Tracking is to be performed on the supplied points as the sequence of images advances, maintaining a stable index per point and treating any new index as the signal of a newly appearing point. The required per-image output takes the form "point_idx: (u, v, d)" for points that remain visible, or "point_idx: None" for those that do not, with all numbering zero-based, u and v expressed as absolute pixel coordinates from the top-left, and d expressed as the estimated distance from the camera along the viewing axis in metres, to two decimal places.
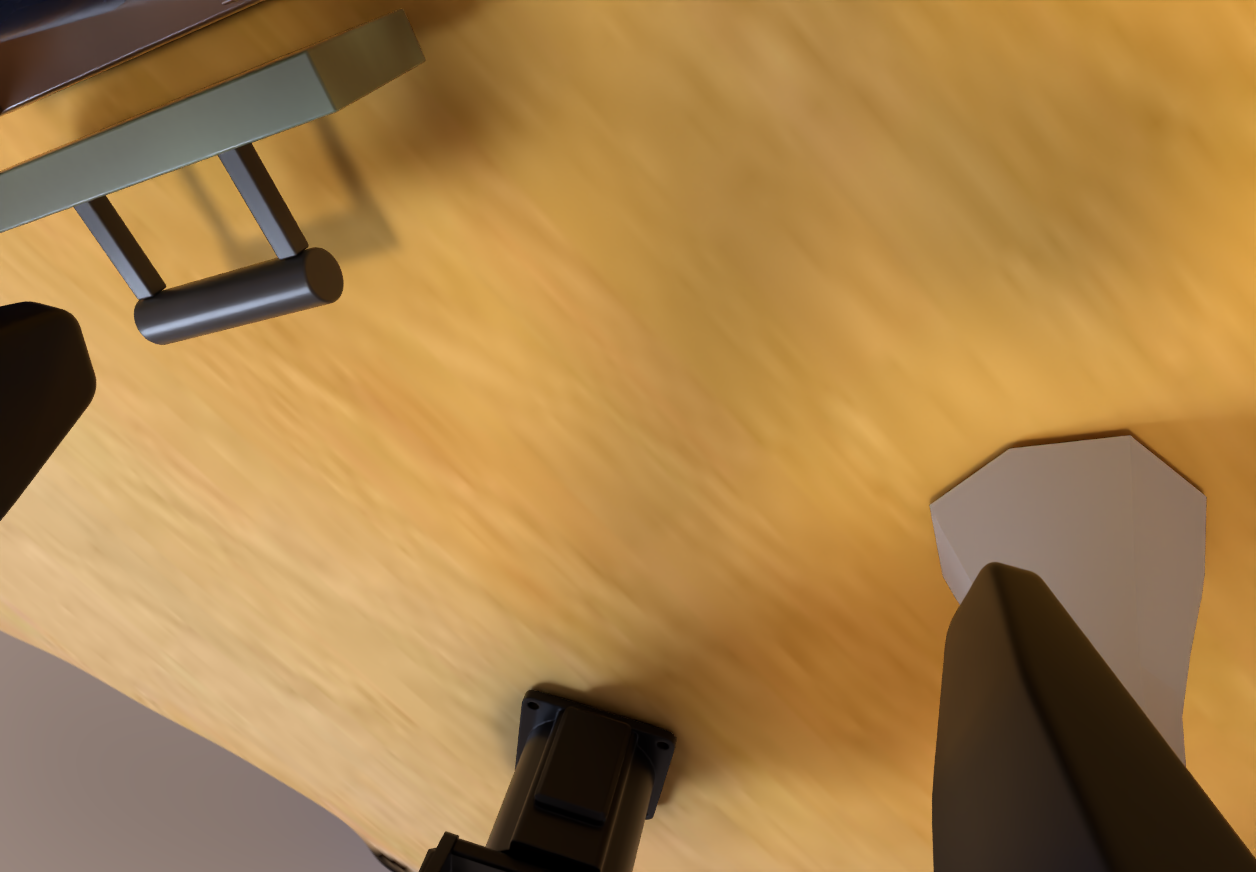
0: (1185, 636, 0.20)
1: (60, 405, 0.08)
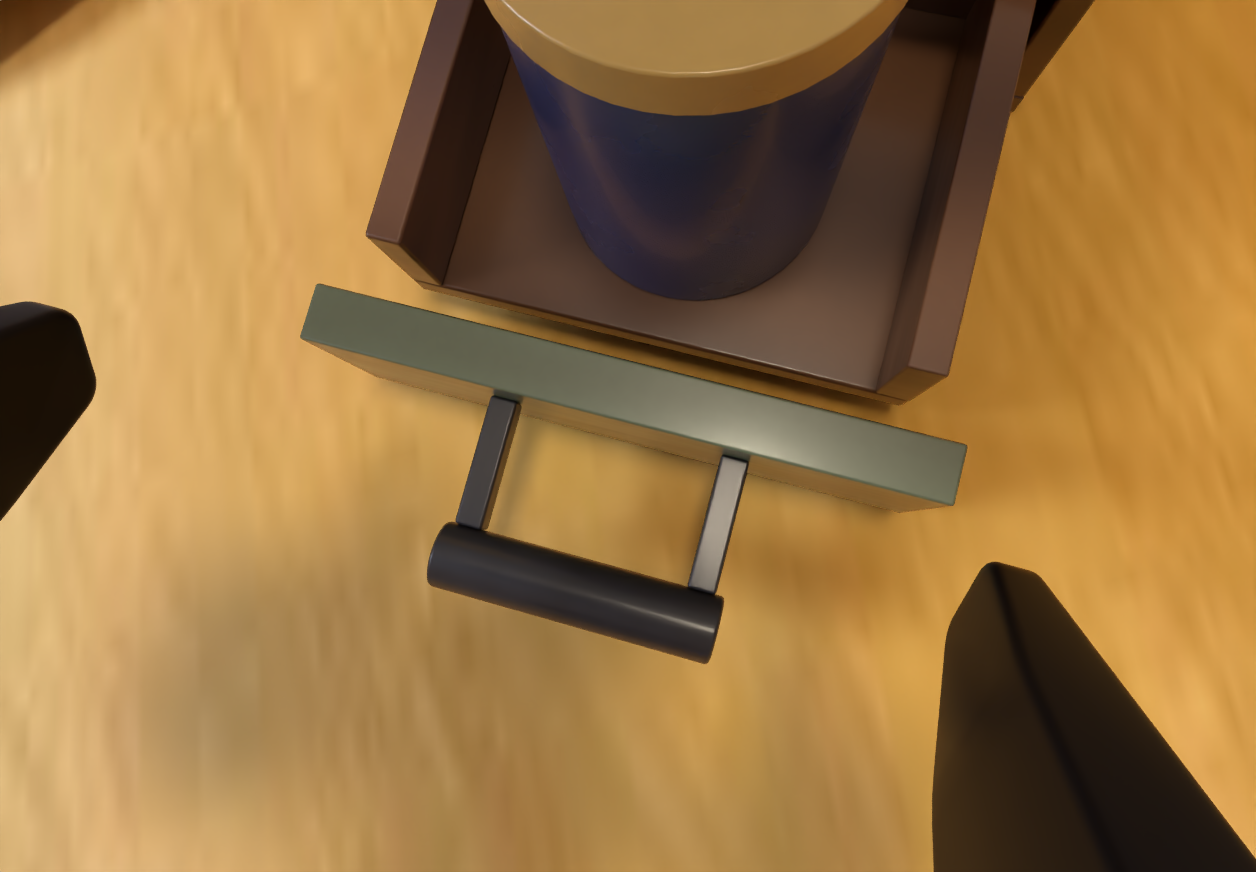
0: None
1: (60, 405, 0.08)
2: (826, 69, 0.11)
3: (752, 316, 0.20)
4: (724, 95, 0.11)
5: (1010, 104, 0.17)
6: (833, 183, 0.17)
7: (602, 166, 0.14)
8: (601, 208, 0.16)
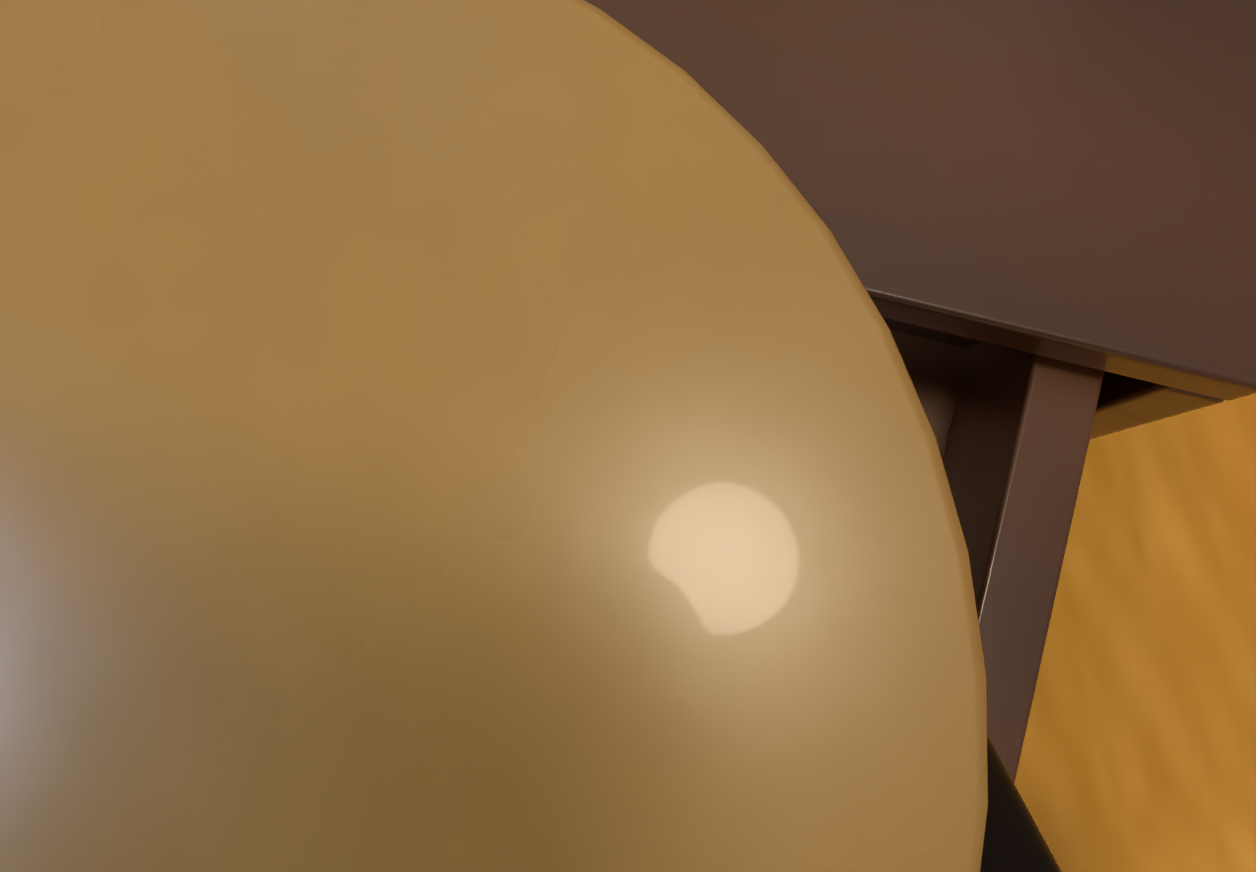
0: None
1: None
2: None
3: None
4: None
5: (1049, 609, 0.10)
6: None
7: None
8: None
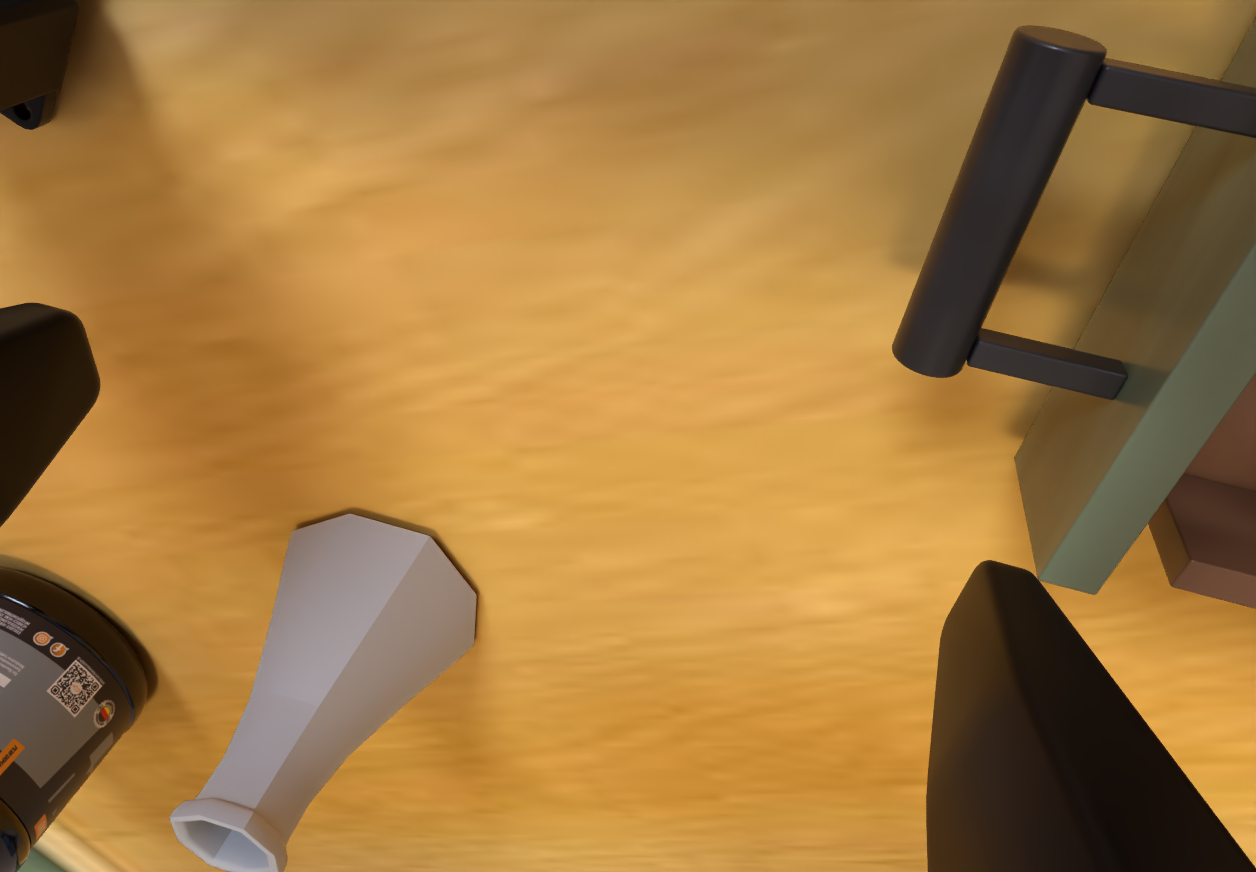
0: None
1: (64, 407, 0.08)
2: None
3: None
4: None
5: None
6: None
7: None
8: None
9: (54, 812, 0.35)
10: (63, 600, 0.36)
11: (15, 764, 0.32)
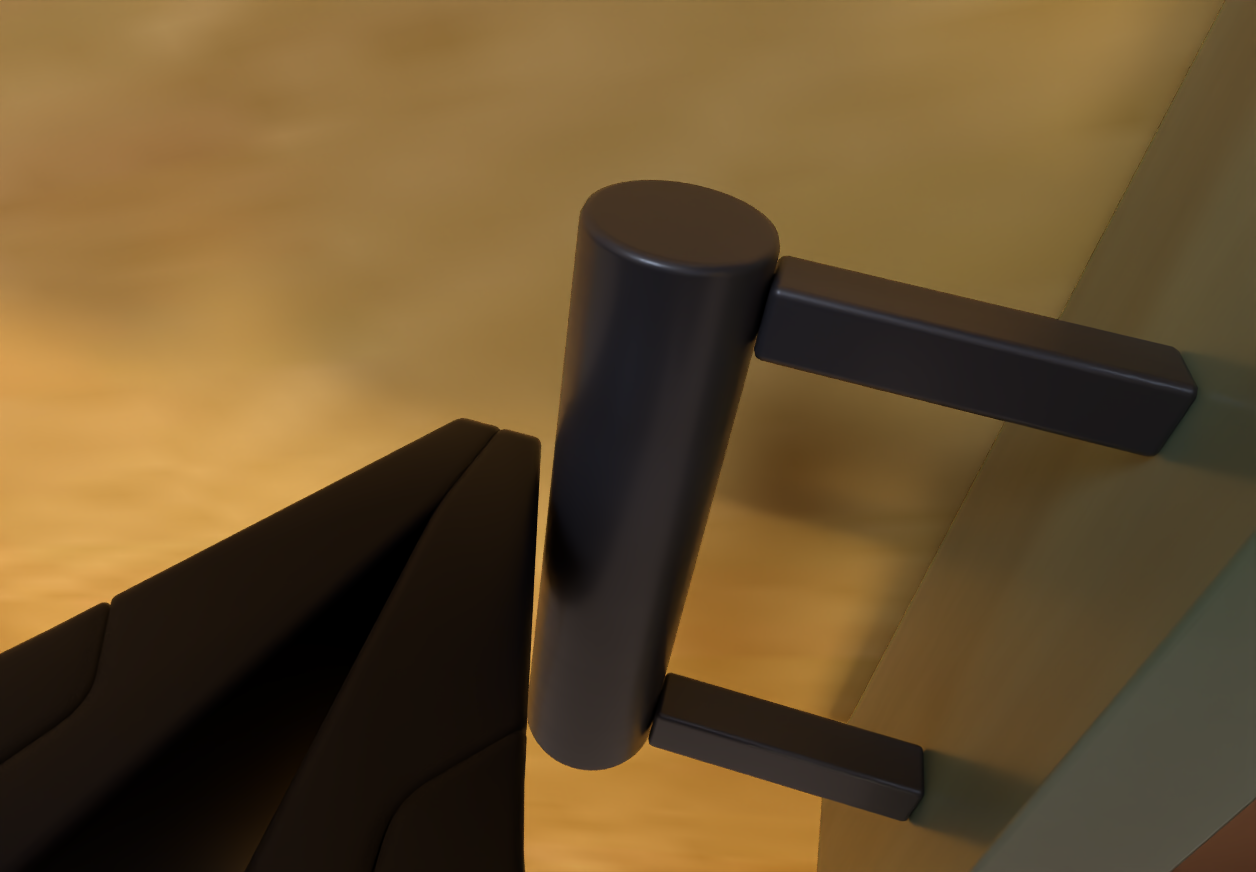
0: None
1: None
2: None
3: None
4: None
5: None
6: None
7: None
8: None
9: None
10: None
11: None
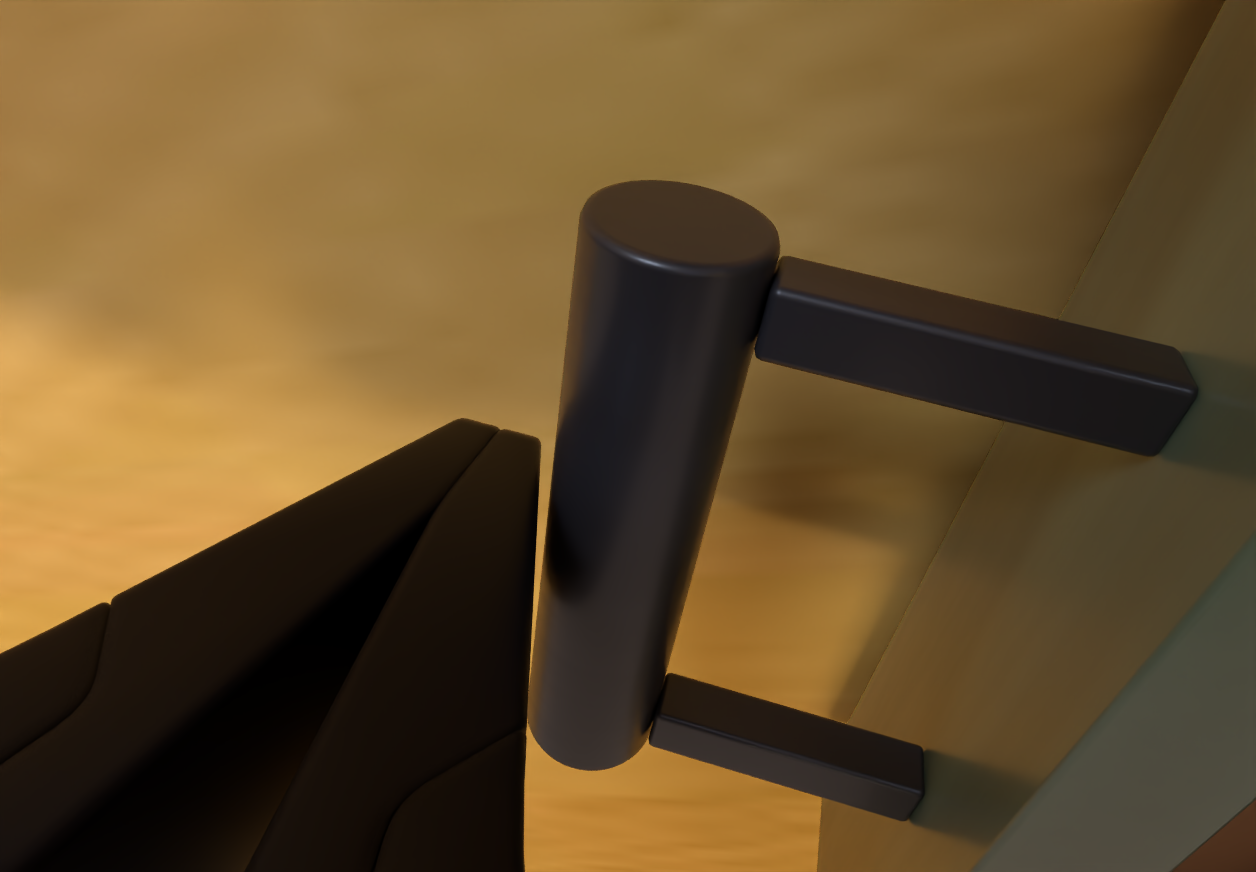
0: None
1: None
2: None
3: None
4: None
5: None
6: None
7: None
8: None
9: None
10: None
11: None
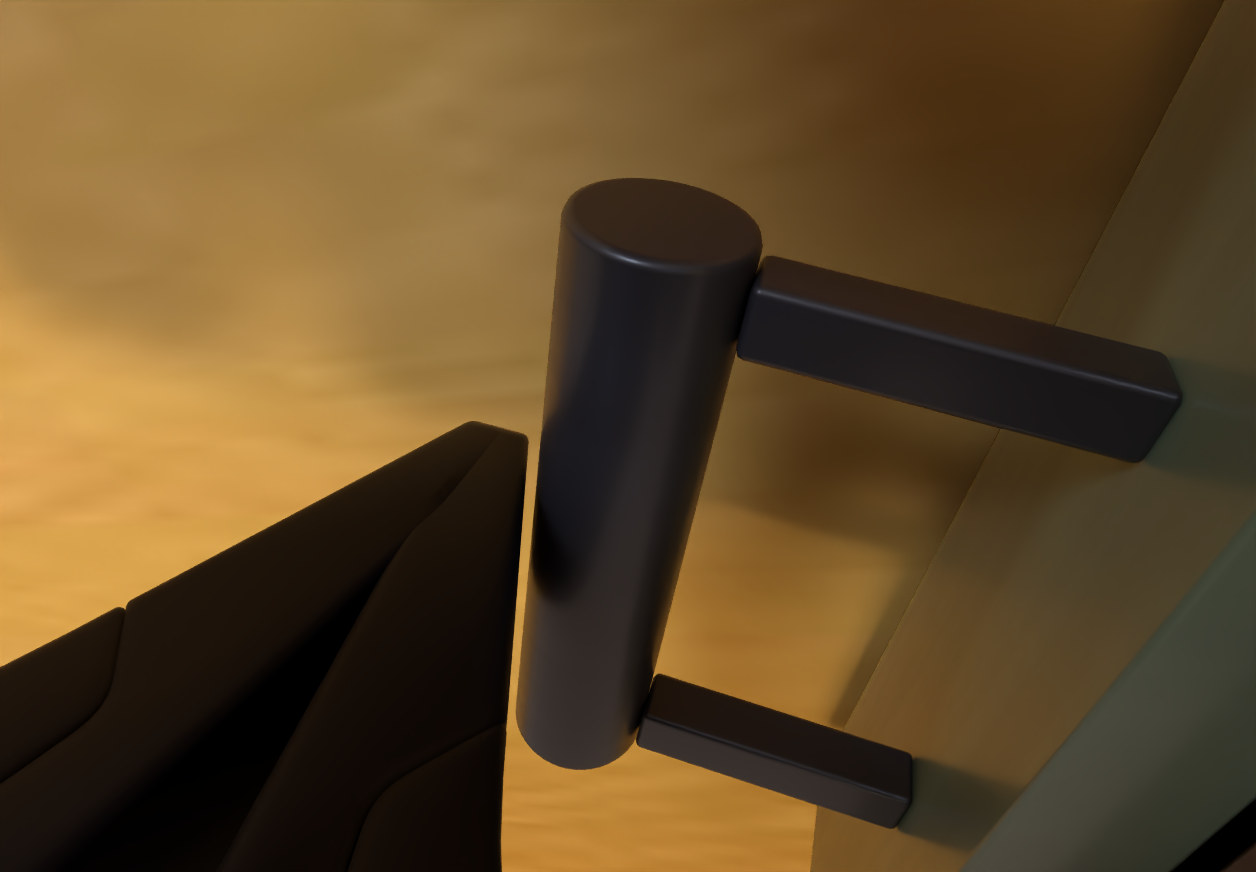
0: None
1: None
2: None
3: None
4: None
5: None
6: None
7: None
8: None
9: None
10: None
11: None
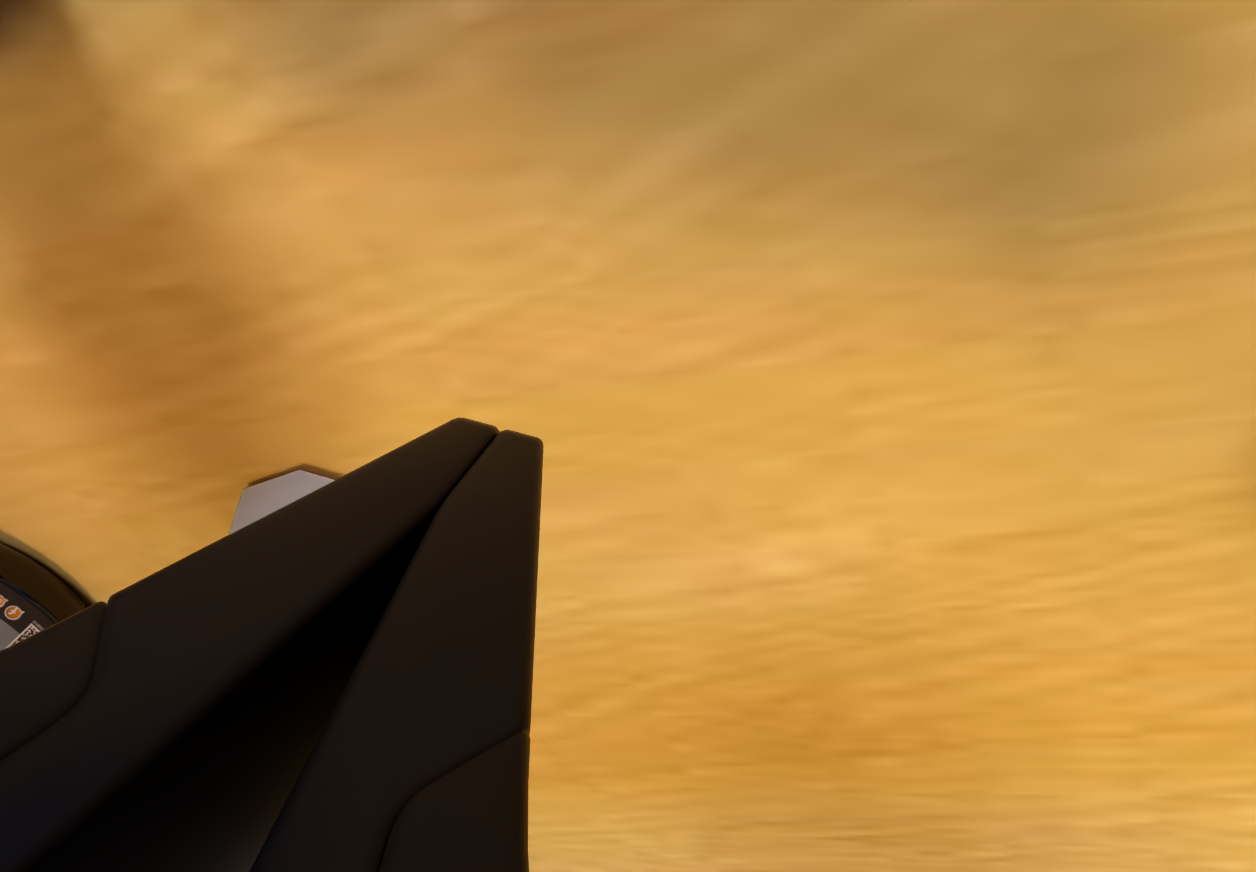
0: None
1: None
2: None
3: None
4: None
5: None
6: None
7: None
8: None
9: None
10: (20, 563, 0.35)
11: None
